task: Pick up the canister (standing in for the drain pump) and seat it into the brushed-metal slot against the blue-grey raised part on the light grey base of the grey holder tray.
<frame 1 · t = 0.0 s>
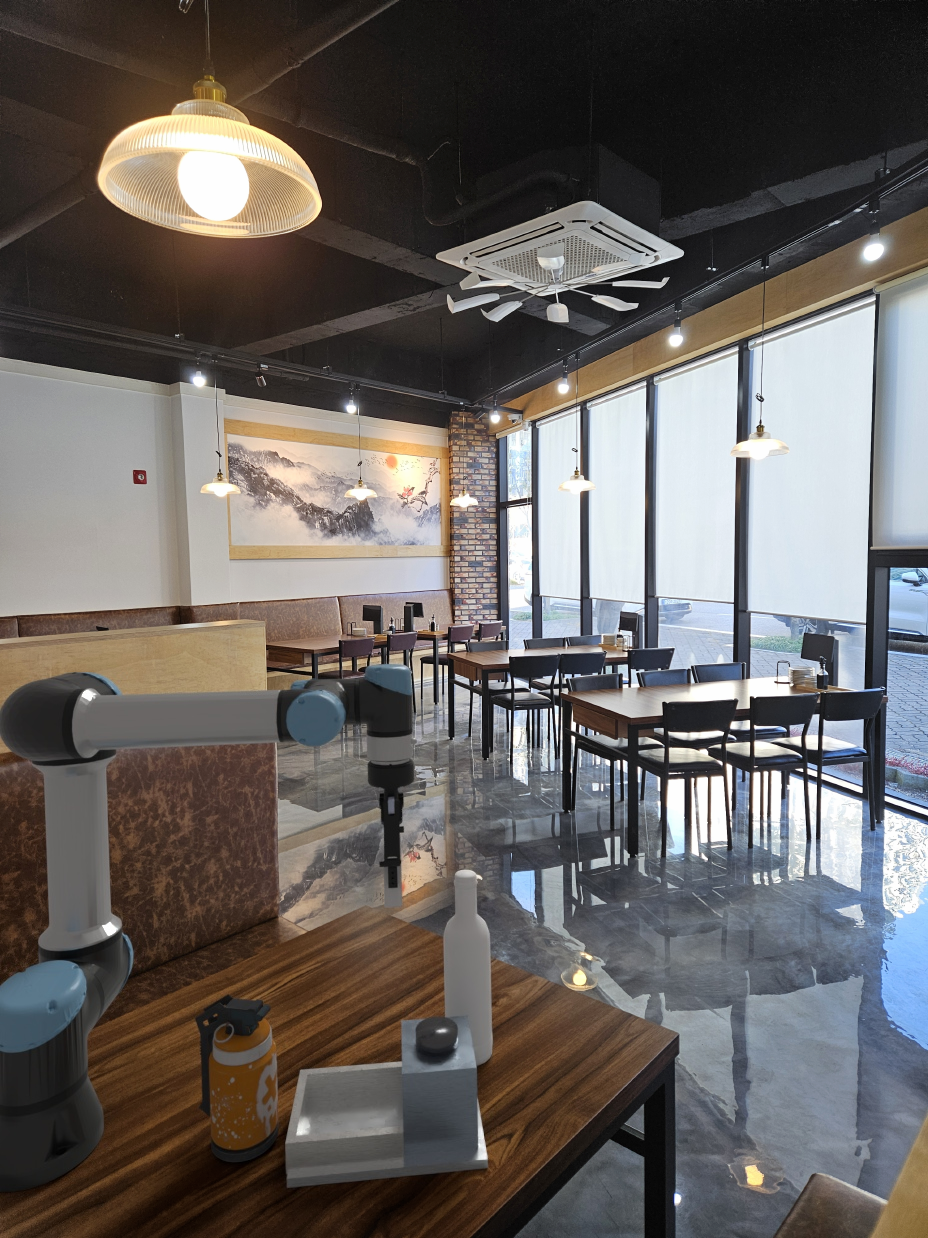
hand: (393, 888, 115), 28 cm above the table, fingers open, 13 cm apart
bottle: (469, 1053, 116), on the table
grey holder tray: (389, 1132, 99), on the table
canister: (238, 1142, 98), on the table
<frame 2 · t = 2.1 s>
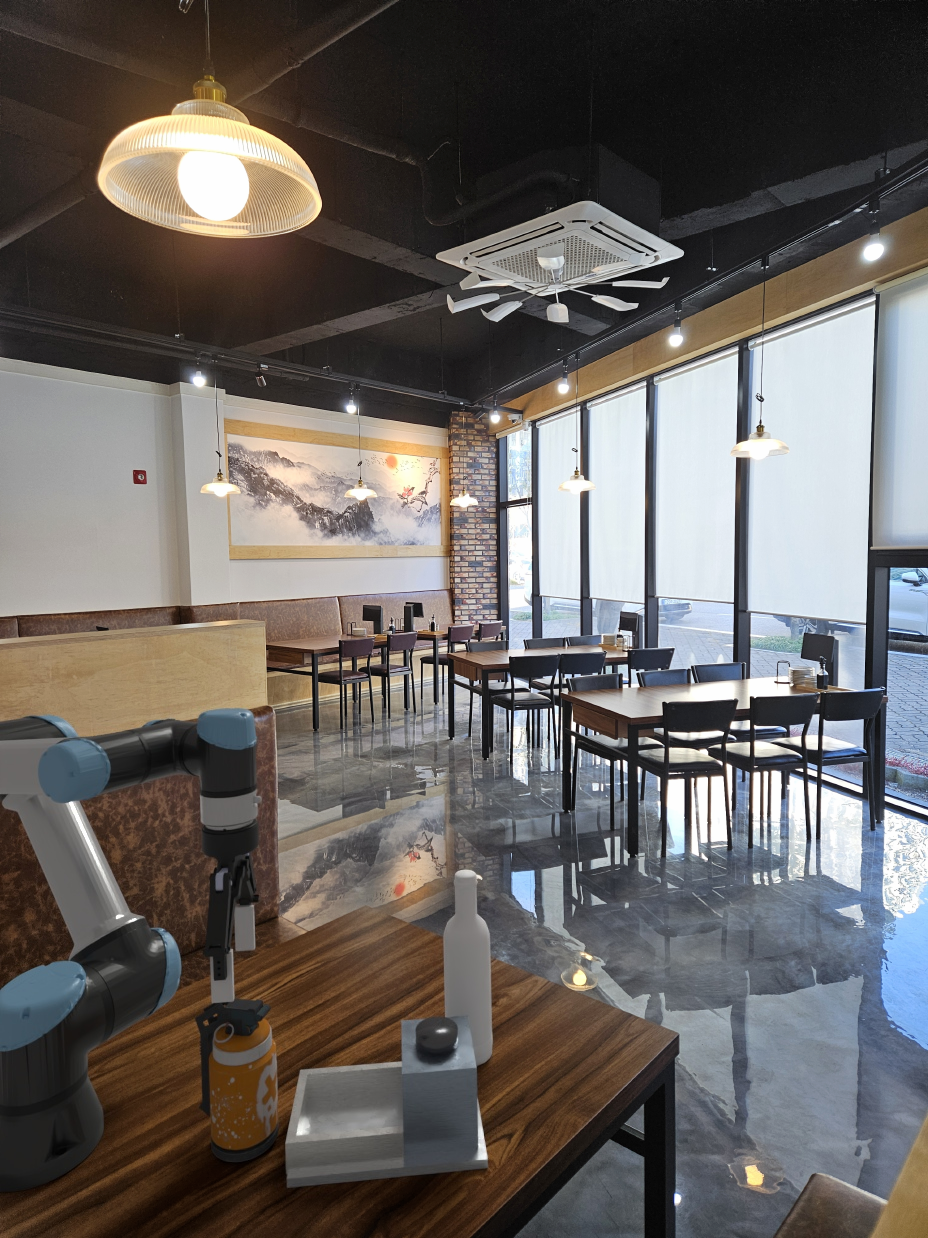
hand: (235, 973, 98), 24 cm above the table, fingers open, 13 cm apart
nothing on the table moved.
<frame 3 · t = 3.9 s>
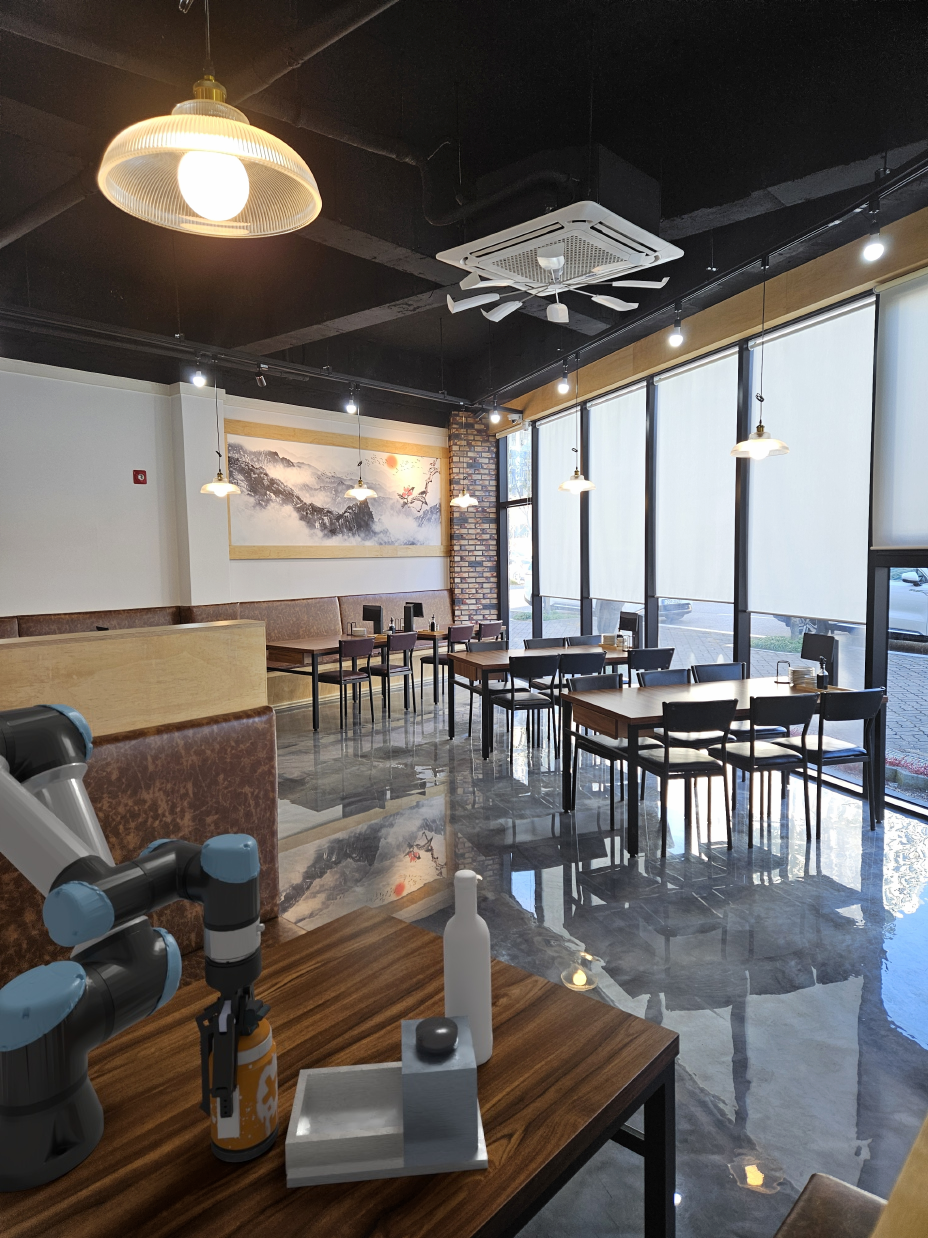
hand: (237, 1108, 98), 5 cm above the table, fingers open, 9 cm apart
canister: (238, 1142, 98), on the table, touching gripper
everything else where it was.
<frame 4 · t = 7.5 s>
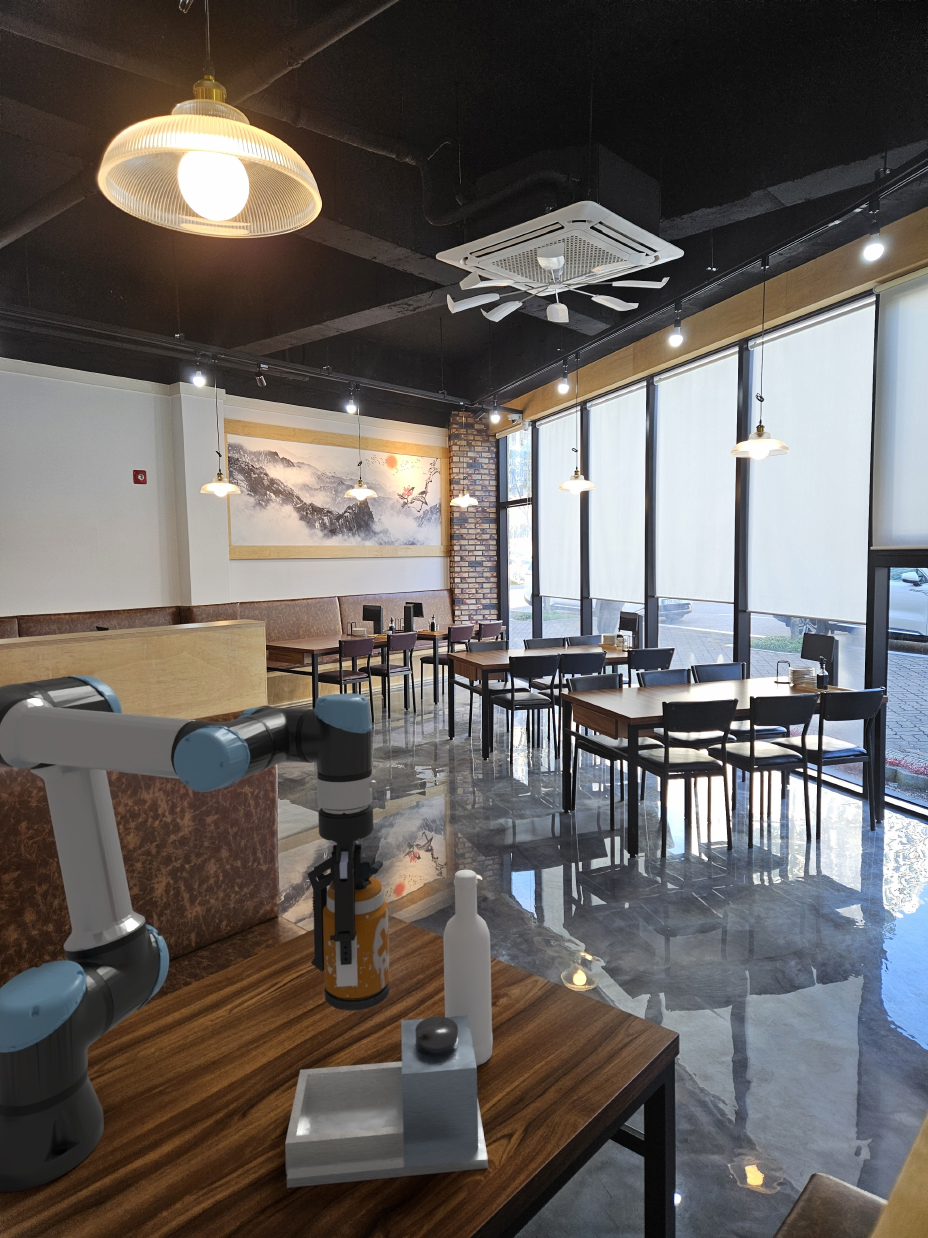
hand: (349, 966, 98), 24 cm above the table, fingers closed on canister, 9 cm apart
canister: (350, 998, 99), point 19 cm above the table, touching gripper
everything else where it was.
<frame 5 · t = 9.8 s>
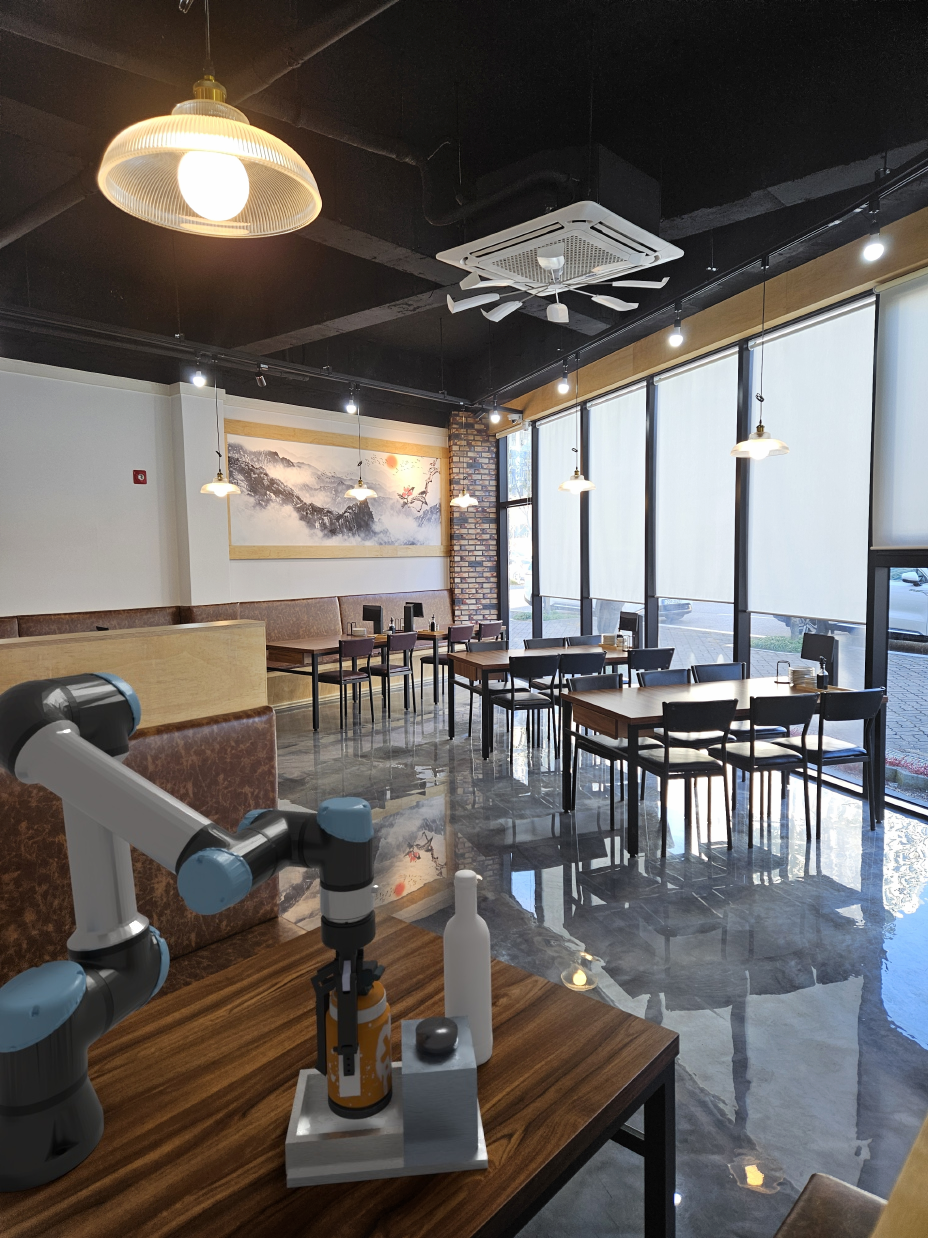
hand: (352, 1070, 99), 9 cm above the table, fingers closed on canister, 9 cm apart
canister: (353, 1102, 99), point 5 cm above the table, touching gripper
everything else where it was.
when the fingers open (7 cm above the table, at t = 11.0 s): canister drops 1 cm, resting on grey holder tray.
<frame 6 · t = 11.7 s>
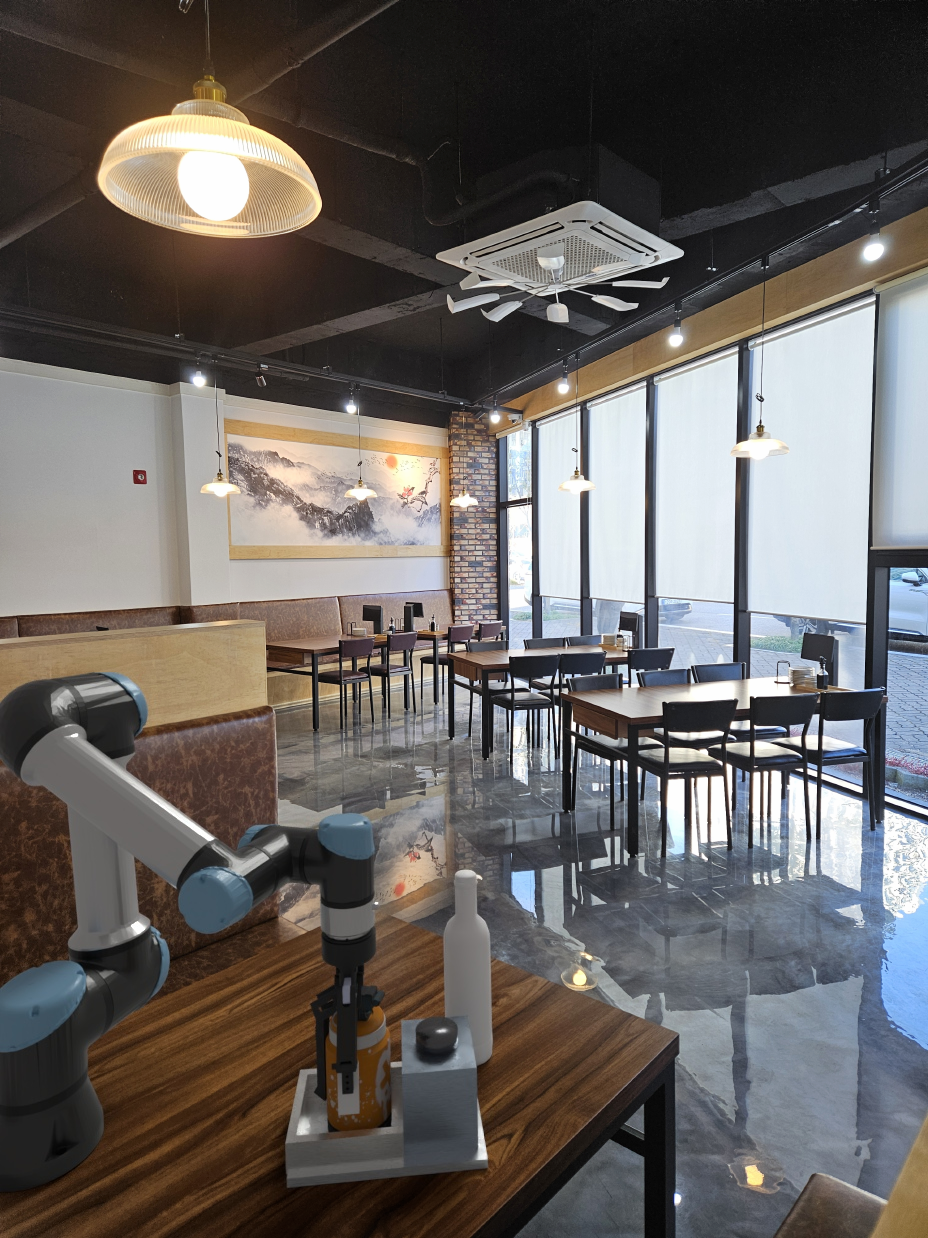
hand: (352, 1078, 99), 8 cm above the table, fingers open, 13 cm apart
canister: (353, 1126, 99), point 1 cm above the table, touching grey holder tray
everything else where it was.
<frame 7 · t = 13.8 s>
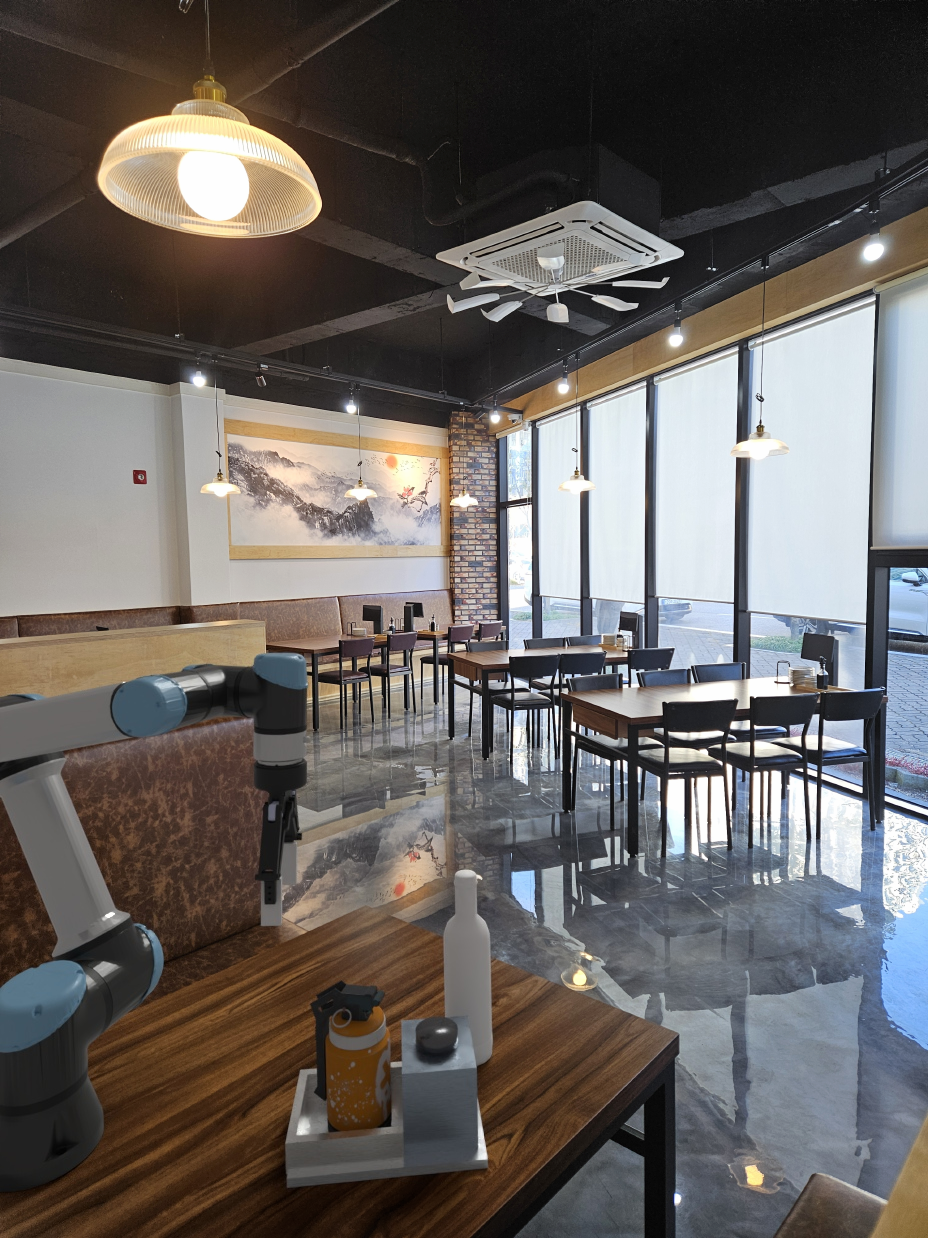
hand: (280, 903, 103), 31 cm above the table, fingers open, 13 cm apart
nothing on the table moved.
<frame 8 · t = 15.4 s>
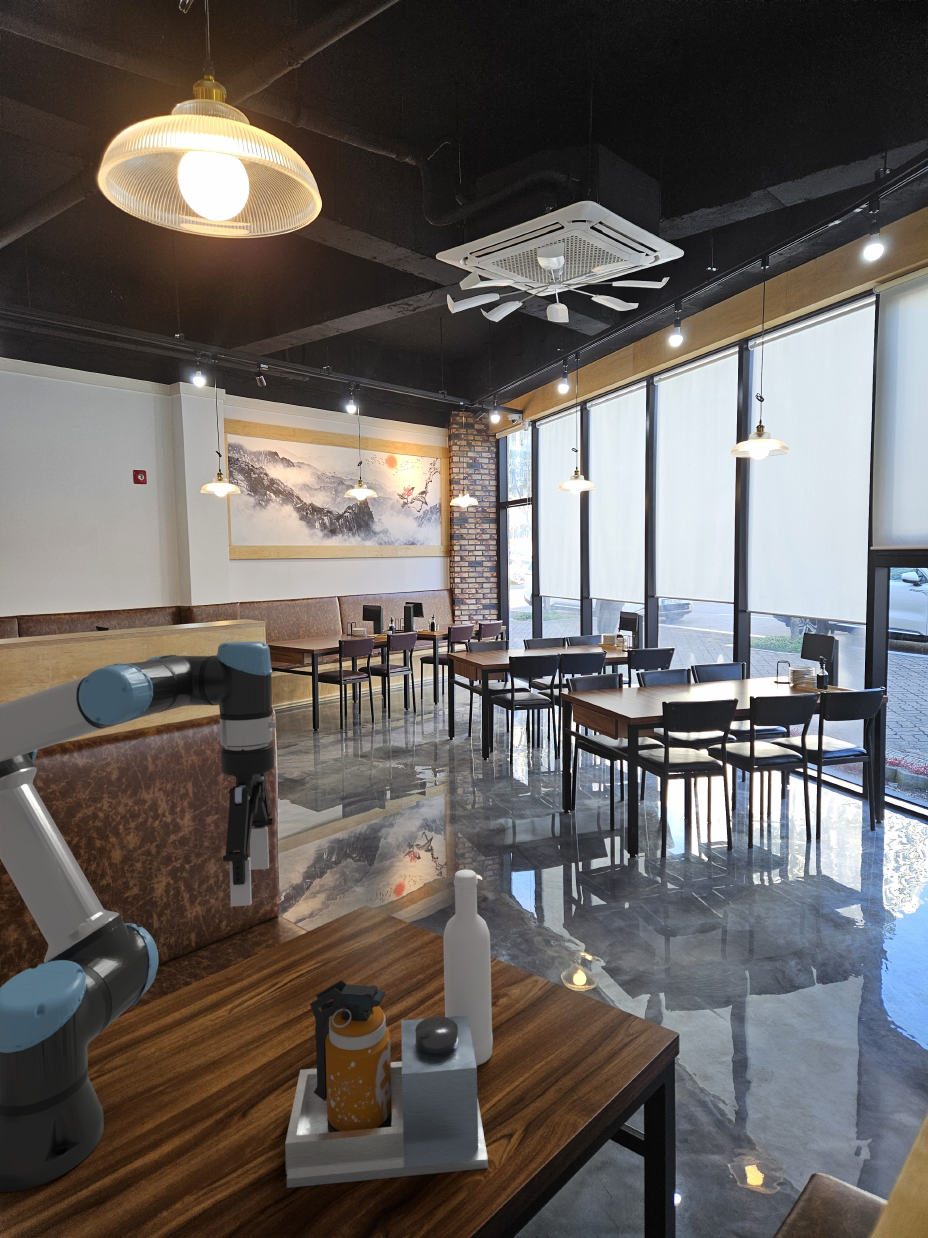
hand: (251, 885, 106), 33 cm above the table, fingers open, 13 cm apart
nothing on the table moved.
at the end: canister inside the target area on the grey holder tray (0.5 cm from its centre), point 1.0 cm above the grey holder tray's base; canister tilted 0°; the gripper is holding nothing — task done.
